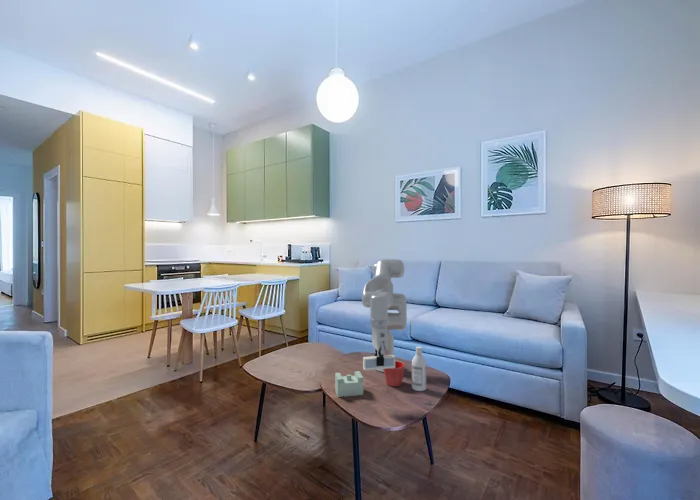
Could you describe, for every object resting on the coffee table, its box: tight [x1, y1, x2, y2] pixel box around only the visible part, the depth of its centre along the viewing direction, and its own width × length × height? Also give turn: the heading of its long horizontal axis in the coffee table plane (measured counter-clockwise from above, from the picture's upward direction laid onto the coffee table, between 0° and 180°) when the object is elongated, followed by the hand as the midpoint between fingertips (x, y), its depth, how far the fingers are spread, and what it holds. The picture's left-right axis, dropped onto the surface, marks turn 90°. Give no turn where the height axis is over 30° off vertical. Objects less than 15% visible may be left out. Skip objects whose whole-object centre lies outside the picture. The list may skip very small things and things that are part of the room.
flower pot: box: [383, 360, 406, 387], centre depth 159 cm, size 11×11×10 cm
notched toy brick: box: [334, 370, 364, 398], centre depth 149 cm, size 12×8×8 cm, turn 101°
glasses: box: [362, 354, 396, 371], centre depth 139 cm, size 14×3×5 cm, turn 101°
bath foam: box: [411, 346, 427, 392], centre depth 153 cm, size 7×7×20 cm
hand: (379, 363), depth 139 cm, fingers closed on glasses, 2 cm apart
